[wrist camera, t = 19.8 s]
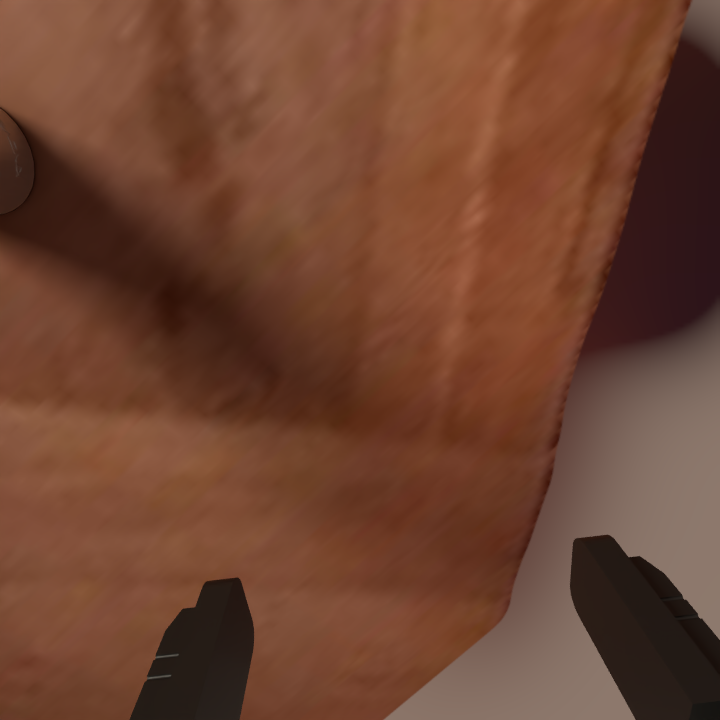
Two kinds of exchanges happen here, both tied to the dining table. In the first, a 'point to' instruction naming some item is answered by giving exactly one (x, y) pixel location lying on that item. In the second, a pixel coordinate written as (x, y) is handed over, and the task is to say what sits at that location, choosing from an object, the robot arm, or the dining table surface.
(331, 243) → the dining table surface
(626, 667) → the robot arm
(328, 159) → the dining table surface
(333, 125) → the dining table surface
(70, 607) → the dining table surface
